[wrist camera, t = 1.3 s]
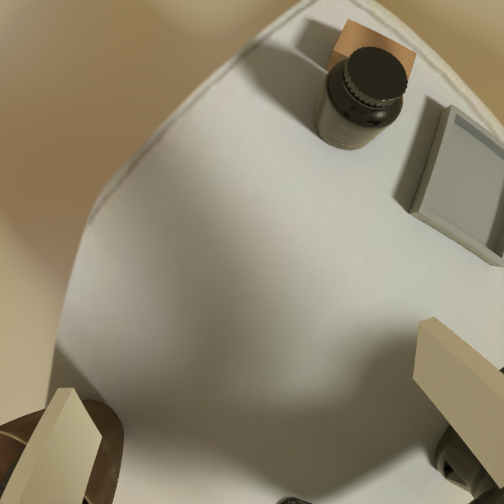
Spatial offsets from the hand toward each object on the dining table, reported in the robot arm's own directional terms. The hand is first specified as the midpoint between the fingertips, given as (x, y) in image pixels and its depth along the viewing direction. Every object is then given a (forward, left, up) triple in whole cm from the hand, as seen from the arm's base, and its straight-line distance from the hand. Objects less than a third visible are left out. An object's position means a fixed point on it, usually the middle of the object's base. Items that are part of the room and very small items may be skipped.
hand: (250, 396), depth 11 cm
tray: (-18, -20, -22) cm, 35 cm away
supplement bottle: (-1, -19, -22) cm, 29 cm away
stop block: (-1, -27, -22) cm, 35 cm away
